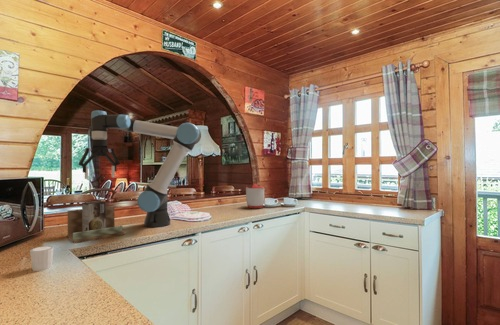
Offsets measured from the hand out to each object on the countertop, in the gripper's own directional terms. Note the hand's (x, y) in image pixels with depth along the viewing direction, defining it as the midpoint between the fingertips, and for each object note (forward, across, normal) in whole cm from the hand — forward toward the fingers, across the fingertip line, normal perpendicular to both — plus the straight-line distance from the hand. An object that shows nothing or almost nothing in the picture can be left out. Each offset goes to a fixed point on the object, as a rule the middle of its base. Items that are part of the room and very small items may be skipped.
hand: (100, 178), depth 152 cm
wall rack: (+29, +5, +8) cm, 31 cm away
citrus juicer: (+30, -114, +9) cm, 118 cm away
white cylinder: (+29, +33, +42) cm, 61 cm away
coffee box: (+28, +5, +6) cm, 29 cm away
